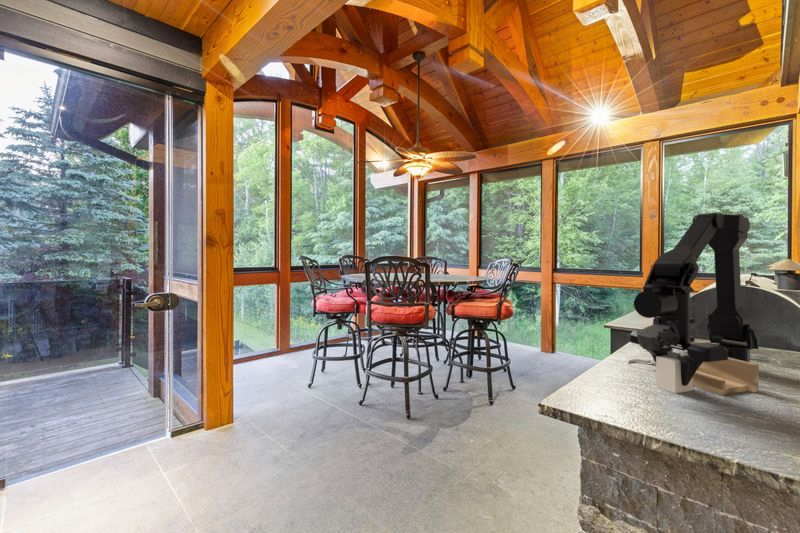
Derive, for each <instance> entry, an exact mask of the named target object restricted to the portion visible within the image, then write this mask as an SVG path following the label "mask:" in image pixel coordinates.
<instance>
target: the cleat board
mask: <svg viewBox="0 0 800 533" xmlns="http://www.w3.org/2000/svg"><path fill="white" fill-rule="evenodd" d="M759 365H760V364H758V363H755V362H754V363H753V362H751V361H750V362H746V361H742V360H738V359H734V358H729V357H728V360H722V361H714V362H703V363H702V364H701V365H700V367H699V368H698V369H697V371H696V372H695V374H694V375H693V387H696V388H699V389H702V390H705V391H707V392H711V393H714V394H717V395H719V396H725V395H729V394H735V393H736V394H737V393H743V392H749V393H759V385H760V384H759V380H760V379H759V375H760V374H759V369H760V368H759Z"/></svg>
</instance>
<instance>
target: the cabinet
mask: <svg viewBox="0 0 800 533" xmlns="http://www.w3.org/2000/svg"><path fill="white" fill-rule="evenodd" d="M677 356H682V354H681V353H678V352H676V351H673V352H672V351H668V355H664V356H656V365H655V366H656V367H655V368H656V369H655V370H656V371H655V372H656V373H655V374H656V376H655V377H656V378H655V379H656V381H655V382H656V383H655V385H656V386H655V387H657V388H659V389H662V390H665V391H668V392H670V393H673V394H681V393H686V392H692V391H694V386H693V377H692V379H691V380H690V382H689V384H688V385H687V386H683V385H682V381H681V362H680V361H679V359H678V358H677Z"/></svg>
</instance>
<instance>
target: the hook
mask: <svg viewBox="0 0 800 533" xmlns="http://www.w3.org/2000/svg"><path fill="white" fill-rule="evenodd" d="M672 352H674V348H672ZM631 363H645V364H652V365H655V366H656V363H655V360H654V358H653V357H652V358H651V359H643V358H642V359H641V358H631V359H627V361H625V365H626V366H628V367H630V368H636V369H639V370H644V369H645V371H650V372H656V369H651V368H645V367H640V366H636V365H632V364H631Z"/></svg>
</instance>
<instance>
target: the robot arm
mask: <svg viewBox="0 0 800 533" xmlns="http://www.w3.org/2000/svg"><path fill="white" fill-rule="evenodd" d="M750 227H751V225H750V220H749V218H748V217H745V216H744V215H743V214H742V213H736V214H725V213H721V212H707V213H698V214H697V215H694V216H693V218H692V223H691V224H690V225H689V227H688V229H687V230H686V231H685V233H684V234H683V235H682V237H681V238H680V239H679V241H678V242H677V244H675V247H674V248H672V249H671V250H669V251H666V252H663V253H662V254H660V256H659V257H658V258H657V259H655V261H654V263H653V264H652V266H651V268H650V270H649V273H648V275H647V276H646V280H645V282H644V285H643V286H642V291H641V292H639V293H638V294H637V295H636V296H635V298H634V300H633V308H634V309H635V311H636V312H637V314H639V316H641V317H643V318H645V319H652V318H653V320H652V325H649V326H646V327H644V328H642V329H640V330H632V331H631V332H630V334H629V343H632V344H636V345H639V346H640V347H641V348H642V349H643V350H645V351H647V352H648V353H649V354H650V355H651V357H652V359H653V358H654V360H655V361H654V362H655V363H656V356H664V355H668V351H672V348H673V349H675V350H678V351H683V355H682V354H681V356H677V358H678V359H679V361H680V362H681V381H682V385H683V386H687V385H688V384H689V382H690V380H691V379H692V377H693V375H694V374H695V372H696V371H697V369H698V368H699V367H700V365H701V364H702V363H703V362H714V361H722V360H728V357H729V358H734V359H738V360H742V361H746V362H750V363H751V361H750V360H751V356H750V355H751V353H750V352H751V350H759V349H760V345H761V342H760V341H761V338H760V336H759V334H758V333H757V330H756V328H755V327H754V326H753V323H752V317H751V315H750V314H749V313H748V312H747V311H746V309H745V308H744V307H743V305H742V287H741V284H742V283H741V263H740V260H741V259H740V248H741V247H742V246H743V245H744V243H745V242H746V241H747V239H748V234H749V231H750V229H751V228H750ZM707 246H709V248H711V250H713V252H714V253H713V254H714V256H713V258H714V273H715V274H714V275H715V276H714V278H715V294H716V307H715V308H714V310H713V311H712V312H711V313H709V314H708V316H707V321H708V323H707V333H708V338H709V342H707V341H706V342H698V343H696V342H695V339H696V338H695V336H691V324H696V323H695V318H693V317H691V293H693V292H694V288H693V287H692V283H693V282H694V281H695V279H696V278H697V276H698V272H699V270H700V268H699V266H698V263H697V261H698V260H699V257H700V256H701V255H702V253H703V251H704V250H705V249H706V247H707ZM693 342H694V343H693Z"/></svg>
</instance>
